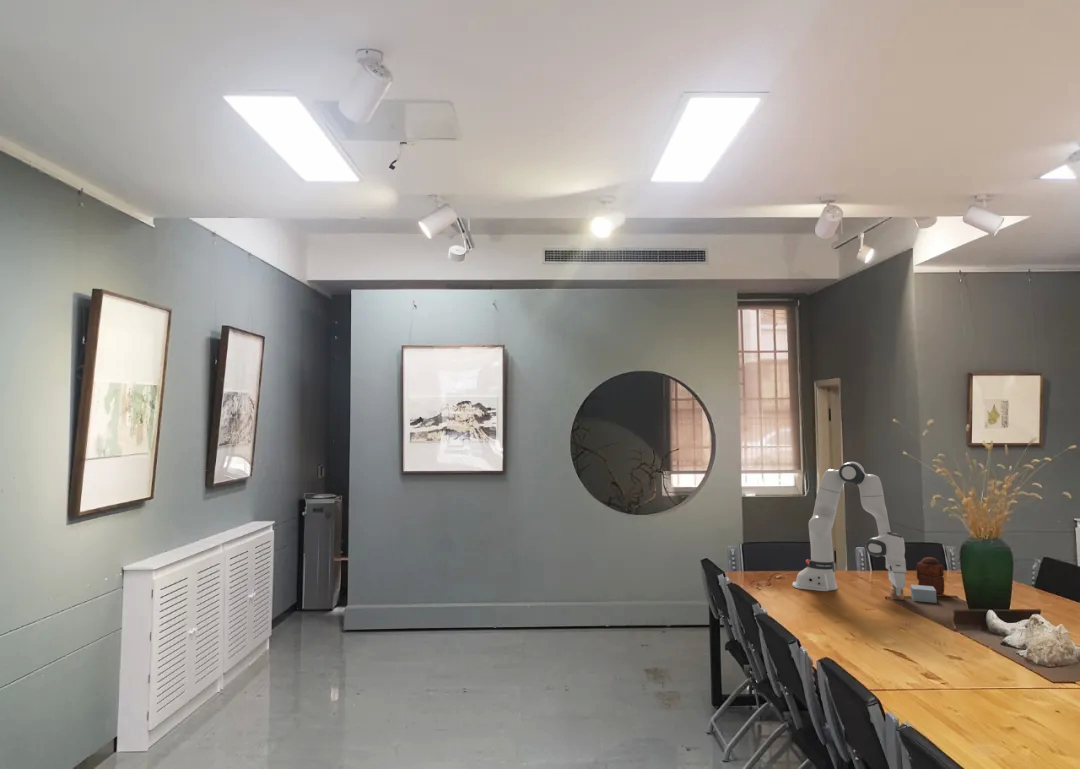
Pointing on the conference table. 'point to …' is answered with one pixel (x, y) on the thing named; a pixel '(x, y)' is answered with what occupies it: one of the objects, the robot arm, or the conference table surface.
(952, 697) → the conference table surface
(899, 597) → the terracotta cube
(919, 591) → the slate base block
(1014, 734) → the conference table surface
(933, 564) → the wooden figurine
